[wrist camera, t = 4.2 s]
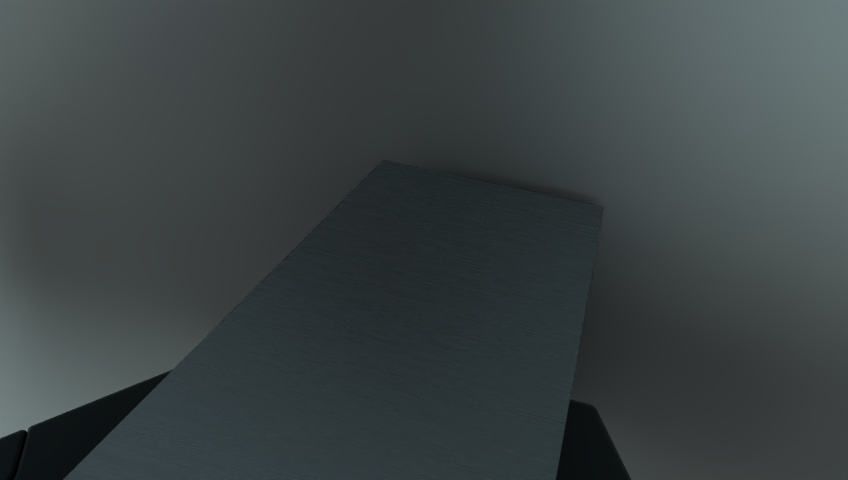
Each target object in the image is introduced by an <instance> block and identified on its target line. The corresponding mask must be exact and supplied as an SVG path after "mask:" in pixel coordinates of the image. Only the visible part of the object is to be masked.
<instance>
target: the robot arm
mask: <svg viewBox="0 0 848 480" xmlns="http://www.w3.org/2000/svg"><path fill="white" fill-rule="evenodd" d="M171 371H172V370H170V371H168V372H165V373H163V374H161V375H158V376H156V377H153V378H151V379H148V380H146V381H143V382H141V383H138V384H136V385H133V386H131V387H128V388H126V389H123V390H121V391H118V392H116V393H113V394H111V395H108V396H106V397H103V398H101V399H98V400H96V401H93V402H91V403H88V404H86V405H83V406H81V407H78V408H76V409H73V410H71V411H68V412H66V413H63V414H60V415H58V416H55V417H53V418H50V419H48V420H45V421H43V422H40V423H38V424H35V425H33V426H31V427H29V429H28V431H27V432H26V431H25V430H20V431H18V432H15V433H13V434H10V435H8V436H5V437H3V438H0V480H63V479H64V478H65V477H66V476H67V475H68V474H69V473H70V472H71V471H72V470H73V469H74V468H75V467H76V466H77V465H78V464H79V463H80V462H81V461H82V460H83V459H84V458H85V457H86V456H87V455H88V454H89V453H90V452H91V451H92V450H93V449H94V448H95V447H96V446H97V445H98V444H99V443H100V442H101V441H102V440H103V439H104V438H105V437H106V436H107V435H108V434H109V433H110V432H111V431H112V430H113V429H114V428H115V427H116V426H117V425H118V424H119V423H120V422H121V421H122V420H123V419H124V418H125V417H126V416H127V415H128V414H129V413H130V412H131V411H132V410H133V409H134V408H135V407H136V406H137V405H138V404H139V403H140V402H141V401H142V400H143V399H144V398H145V397H146V396H147V395H148V394H149V393H150V392H151V391H152V390H153V389H154V388H155V387H156V386H157V385H158V384H159V383H160V382H161V381H162V380H163V379H164V378H165V377H166V376H167V375H168V374H169V373H170V372H171ZM556 480H631V478H630V476H629V474H628V472H627V470H626V468H625V466H624V464H623V462H622V460H621V458H620V456H619V454H618V452H617V450H616V448H615V446H614V444H613V442H612V440H611V438H610V436H609V434H608V431H607V429H606V427H605V425H604V423H603V421H602V419H601V417H600V415H599V413H598V411H597V409H596V408H595V407H594V406H593V405H590V404H586V403H583V402H579V401H575V400H571V399H570V402H569V407H568V413H567V419H566V424H565V430H564V436H563V441H562V447H561V453H560V458H559V464H558V470H557V475H556Z"/></svg>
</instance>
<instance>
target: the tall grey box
mask: <svg viewBox="0 0 848 480" xmlns="http://www.w3.org/2000/svg"><path fill="white" fill-rule="evenodd" d="M603 209H604V207H602V206H597V205H593V204H588V203H583V202H578V201H574V200H569V199H564V198H560V197H555V196H550V195H546V194H541V193H536V192H532V191H527V190H522V189H517V188H513V187H508V186H503V185H499V184H494V183H489V182H485V181H480V180H475V179H471V178H466V177H461V176H457V175H452V174H447V173H442V172H438V171H433V170H428V169H424V168H419V167H414V166H410V165H405V164H400V163H396V162H391V161H386V160H383V161H382V162H381V163H380V164H379V165H378V166H377V167H376V168H375V169H374V170H373V171H372V172H371V173H370V174H369V175H368V176H367V177H366V178H365V179H364V180H363V181H362V182H361V183H360V184H359V185H358V186H357V187H356V188H355V189H354V190H353V191H352V192H351V193H350V194H349V195H348V196H347V197H346V198H345V199H344V200H343V201H342V202H341V203H340V204H339V205H338V206H337V207H336V208H335V209H334V210H333V211H332V212H331V213H330V214H329V215H328V216H327V217H326V218H325V219H324V220H323V221H322V222H321V223H320V224H319V225H318V226H317V227H316V228H315V229H314V230H313V231H312V232H311V233H310V234H309V235H308V236H307V237H306V238H305V239H304V240H303V241H302V242H301V243H300V244H299V245H298V246H297V247H296V248H295V249H294V250H293V251H292V252H291V253H290V254H289V255H288V256H287V257H286V258H285V259H284V260H283V261H282V262H281V263H280V264H279V265H278V266H277V267H276V268H275V269H274V270H273V271H272V272H271V273H270V274H269V275H268V276H267V277H266V278H265V279H263V280H262V281H261V282H260V283H259V284H258V285H257V286H256V287H255V288H254V289H253V290H252V291H251V292H250V293H249V294H248V295H247V296H246V297H245V298H244V299H243V300H242V301H241V302H240V303H239V304H238V305H237V306H236V307H235V308H234V309H233V310H232V311H231V312H230V313H229V314H228V315H227V316H226V317H225V318H224V319H223V320H222V321H221V322H220V323H219V324H218V325H217V326H216V327H215V328H214V329H213V330H212V331H211V332H210V333H209V334H208V335H207V336H206V337H205V338H204V339H203V340H202V341H201V342H200V343H199V344H198V345H197V346H196V347H195V348H194V349H193V350H192V351H191V352H190V353H189V354H188V355H187V356H186V357H185V358H184V359H183V360H182V361H181V362H180V363H179V364H178V365H177V366H176V367H175V368H174V369H173V370H172V371H171V372H170V373H169V374H168V375H167V376H166V377H165V378H164V379H163V380H162V381H161V382H160V383H159V384H158V385H157V386H156V387H155V388H154V389H153V390H152V391H151V392H150V393H149V394H148V395H147V396H146V397H145V398H144V399H143V400H142V401H141V402H140V403H139V404H138V405H137V406H136V407H135V408H134V409H133V410H132V411H131V412H130V413H129V414H128V415H127V416H126V417H125V418H124V419H123V420H122V421H121V422H120V423H119V424H118V425H117V426H116V427H115V428H114V429H113V430H112V431H111V432H110V433H109V434H108V435H107V436H106V437H105V438H104V439H103V440H102V441H101V442H100V443H99V444H98V445H97V446H96V447H95V448H94V449H93V450H92V451H91V452H90V453H89V454H88V455H87V456H86V457H85V458H84V459H83V460H82V461H81V462H80V463H79V464H78V465H77V466H76V467H75V468H74V469H73V470H72V471H71V472H70V473H69V474H68V475H67V476H66V477H65V478H64V479H63V480H556V475H557V470H558V464H559V458H560V453H561V447H562V441H563V436H564V430H565V424H566V419H567V413H568V407H569V402H570V396H571V390H572V385H573V379H574V373H575V368H576V362H577V356H578V351H579V345H580V339H581V334H582V328H583V322H584V317H585V311H586V305H587V300H588V294H589V288H590V283H591V277H592V271H593V266H594V260H595V254H596V249H597V243H598V237H599V232H600V226H601V220H602V215H603Z"/></svg>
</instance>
